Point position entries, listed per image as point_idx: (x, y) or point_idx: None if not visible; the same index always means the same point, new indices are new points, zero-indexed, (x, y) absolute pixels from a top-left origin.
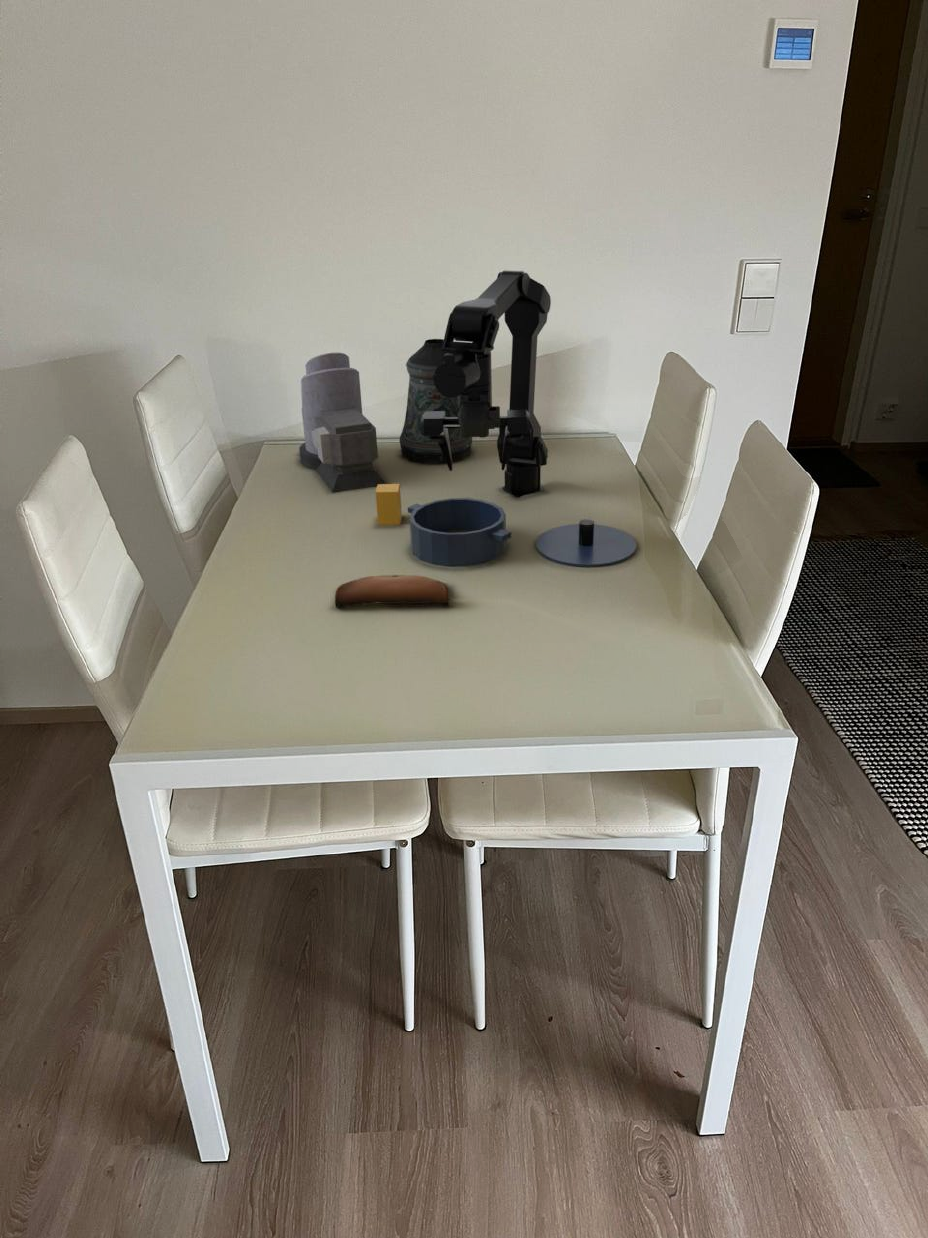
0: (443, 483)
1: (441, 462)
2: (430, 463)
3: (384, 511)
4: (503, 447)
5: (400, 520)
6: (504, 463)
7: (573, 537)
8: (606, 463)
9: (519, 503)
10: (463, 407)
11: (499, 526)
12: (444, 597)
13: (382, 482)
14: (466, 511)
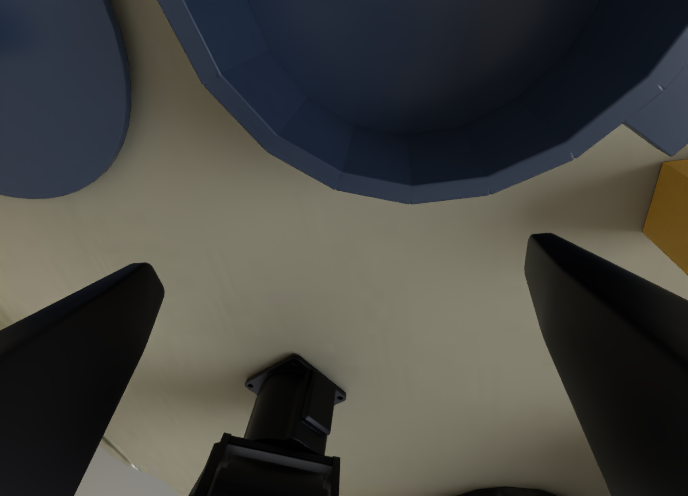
0: (492, 420)
1: (498, 490)
2: (522, 489)
3: None
4: (20, 428)
5: (667, 186)
6: (88, 288)
7: (10, 82)
8: (180, 471)
9: (288, 332)
10: None
11: None
12: None
13: None
14: (406, 162)
